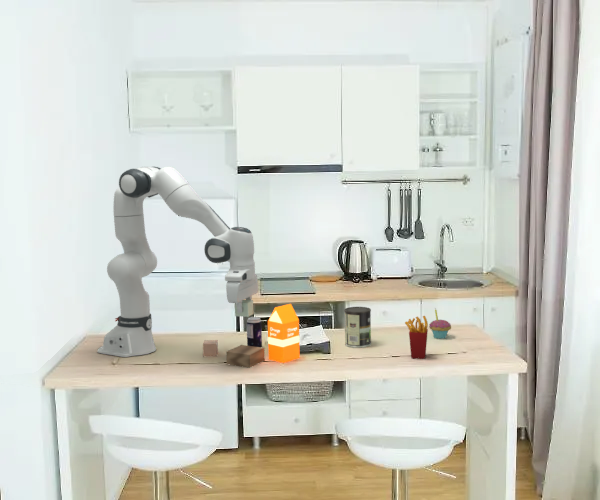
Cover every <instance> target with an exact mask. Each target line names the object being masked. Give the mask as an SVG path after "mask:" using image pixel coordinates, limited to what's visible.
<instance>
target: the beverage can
mask: <svg viewBox="0 0 600 500" xmlns="http://www.w3.org/2000/svg"><path fill="white" fill-rule="evenodd" d="M262 331H263V330H262V320H261V318H260V317H258V316H251V317H250V316H249V317H247V320H246V341H247V342H246V346H254V347H261V348H263V339H262V338H263V336H262V335H263V334H262Z"/></svg>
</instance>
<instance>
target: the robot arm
mask: <svg viewBox="0 0 600 500" xmlns="http://www.w3.org/2000/svg"><path fill="white" fill-rule="evenodd" d="M158 195H159V196H160V197H161V199H162V200H163V201H164V202H165V204H166V205H167V207H168V208H169V209H170V210H171V211H172V212H173V213H174V214H175V215H176V216H178V217H180V218H186V219H191V220H195V221H197V222H199V223H201V224H202V225H203V226H204V227H205V228H206V229H207V230H208V231H209V232H210V233H211V234H212V235H213V236H214V237H212V238H209V239H208V240H206V243H204V244H205V245H204V255H205V257H206V258H207V260H208V261H209V262H211V263H214V264H221V263H225V262H228V263H229V269H228V270H227V271H228V272H226V273H225V276H224V281H225V282H226V285H225V286H226V287H225V288H226V300H227V302H228V303H230V304H234V305H235V304H236V306H237V312H238V313H242V312H243V307H242V300H253V299H252V298H253V296H254V295H256V294H258V292H259V280H258V276H257V274H256V268H255V267H256V266H255V263H256V262H255V260H254V256H255V255H254V254H255V243H254V235H253V233H252V230H250V229H249V228H247V227H242V226H241V227H240V226H234V227H230V226H228V224H226V222H225V221H224V220H223V219H222V218H221V217H220V216H219V214H217V213H216V211H215V210H214V209H213V208H212V207H211V206H210V205H209V204H208V203H207V202H206V201H204V199H203V198H202V197H201V196H200V195H199V194H198V193H197V191H196V190H195V189H194V188H193V187H192V186H191V184H190V183H189V182H188V181H187V179H186V178H185V177H184V176H183V175H182V174H181V173H180V172H179V171H178V170H177V169H176V168H175V167H173V166H164V167H159V166H141V167H136V168H130V169H127V170H124V172H123V173H122V174H120V177H119V179H118V188H117V189H116V190H115V191H114V196H113V220H114V221H113V222H114V233H115V234H114V235H115V237H116V239H117V240H118V241H119V242H120V244H121V246H122V249H123V253H121V254H117V255H116V256H114V258H112V259H111V260H110V261H109V262H108V264H107V268H106V272H107V275H108V278H109V279H110V280H111V281H112V282H114V284H115V287H116V289H117V292H118V297H119V309H120V315H119V316H118V317H116V318H114V322H117V323H116V326H114V327H113V328H112V329H110V331H109V332H107V333H106V334H105V336H104V337H103V341H102V342H103V343H102V344H103V345H102V346H100V347H99V348H98V349H97V354H104V355H108V356H109V355H111V356H116V357H122V358H128V357H133V356H141V355H142V356H143V355H148V354H150V353H153V352H155V351H156V350H157V347H156V345H155V344H156V343H155V341H154V337H153V331H152V329H153V328H152V327H153V324H152V323H153V320H152V319H153V318H152V314H151V308H150V307H151V306H150V295H149V293H148V292H147V291H146V289H145V287H144V284H143V281H142V280H143V278H145V277H147V276H149V275H150V274H152V273H153V271H155V270H156V269H157V266H158V258H157V256H156V254H155V253H154V252H153V250H151V248H150V245H149V242H148V239H147V234H146V227H145V226H146V225H145V215H144V205H143V204H144V200H146V198H150V199H151V198H152V197H155V196H158Z"/></svg>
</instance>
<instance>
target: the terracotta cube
mask: <svg viewBox="0 0 600 500" xmlns="http://www.w3.org/2000/svg"><path fill="white" fill-rule="evenodd" d="M218 347H219V345H218V339H212V340H211V339H209V340H206V339H205V340H204V341H203V342H202V353H203V358H204V356H206V357H218V353H219V348H218Z"/></svg>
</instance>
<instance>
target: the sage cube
mask: <svg viewBox="0 0 600 500" xmlns="http://www.w3.org/2000/svg"><path fill="white" fill-rule="evenodd" d="M242 307H243V312H242V313H238V312H237V306H236V304H235V303H234V316H235V317H245V318H246V317H247V318H249V317H250V316H251V317H252V315H254V300H253V299H252V300H246V299H244V300H242Z"/></svg>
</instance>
